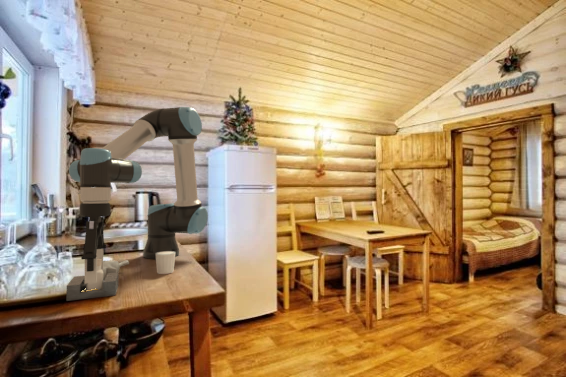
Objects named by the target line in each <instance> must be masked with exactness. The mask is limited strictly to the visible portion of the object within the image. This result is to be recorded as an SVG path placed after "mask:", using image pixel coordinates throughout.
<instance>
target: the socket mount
mask: <svg viewBox="0 0 566 377" xmlns="http://www.w3.org/2000/svg"><path fill="white" fill-rule="evenodd" d="M84 283H85V275H78V276H76V275H75V276H73V277H72V279H71V280H70V281H69V282H68V283H67V285H66V299H65V300H66V302H68V301H77V300H78V301H79V300H86V299H88V300H89V299H95V298H96V299H97V298H103V297H112V296H116V295H117V291H118V288H119V272H118V273H108V274H107V276H106V278H105V280H104V281H103V289H101V290H92V291H87V292H81V291H82V290H84V289H85V288H86V284H84Z"/></svg>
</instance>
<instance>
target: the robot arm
mask: <svg viewBox="0 0 566 377" xmlns="http://www.w3.org/2000/svg"><path fill="white" fill-rule="evenodd" d="M202 127H203V124H202V120H201V117H200V114H199V113H198V112H197V110H196V109H194V107H193V108H192V107H191V106H190V107H189V106H179V107H178V106H176V107H169V108H168V107H167V108H157V109H154V110H152V111H150V112H148V113H146V114H145V115H143V116H141V117H140V118H138V119H137V120H136V121H134V122H133V126H132V127H131V128H129V129H128V130H126V131H124V132H123V133H122V134H120V135H119V136H118V137H116V138H115V139H112V140H111V141H110V142H109V143H108V144H106V145H104V146H103V147H101V148H96V147H89V148H88V147H87V148H83V149H81V152H80V157H79V158H80V159H77V160H74V161H73V162H71V163H70V165H69V167H68V174H69V176H70V178H71V179H72V180H73V181H75V182H77V183H79V184H80V185H79V188H80V190H78V191H77V194H78V195H79V197H80V198H79V199H80V200H79V201H80V202H82V203H80V204H79V216H80V217H84V218H85V217H86V218H88V220H87V221H86V222H85V234H84V235H85V236H84V237H85V238H84V247H83V255H81V258H80V260H84V276H85V283H84V284H87V283H96V282H97V258H98V259H101V269H102V270H103V261H104V249H106V248H107V245H106V244H105V238H104V237H105V236H104V226H105V223H104V217H107V216H108V217H109V216H110V215H111V204H110V203H109V202H110V201H111V200H112V199H111V196H112V193H111V192H112V188H111V183H112V184H115V183H116V184H119V183H122V184H135V183H137V182H138V181H139V180H140V179H141V177H142V175H143V169H142V166H141V165H140V163H139V162H138V161H135V160H131V159H127V158H128V157H129V156H130V155H132V154H133V153H134V152H136V151H137V150H138V149H140V148H141V147H142V146H143V145H144V144H146V143H147V142H152V141H153V140H154V139H157V138H161V137H167V140H168V142H169V143H171V144H172V152H173V153H172V155H173V165H174V180H175V190H176V191H175V192H176V201H175V202H174V203H173V202H172V203H162V204H154V205H150V206H149V207H148V208H147V210H148V211H147V216H146V217H147V240H146V243H145V246H144V249H143V251H142V257H143V258H145V259H150V260H151V259H153V260H156V253H157V252H163V251H174V252H175V257H177V256H179V255H180V248H179V245H178V242H177V239H176V234H189V235H192V234H200V233H201V232H203V231H204V229H205V228H206V226H207V224H208V218H209V214H208V210H207V208H206V207H204V206H203V204H202V201H201V200H200V199H199V197H198V186H197V171H196V156H195V142H197V140H198V136H199V135H200V134H201V133H202V129H203V128H202Z"/></svg>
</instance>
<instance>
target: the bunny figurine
mask: <svg viewBox="0 0 566 377" xmlns="http://www.w3.org/2000/svg"><path fill="white" fill-rule="evenodd" d="M127 265H130V262H129V260H127V259H126V260H122V261H120V262H119V261H118V260H114V259H110V260H103V280H105V278H106V276H107V274H108V273H118V274H119V272H120V268H121V267H123V266H127Z"/></svg>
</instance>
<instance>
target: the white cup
mask: <svg viewBox="0 0 566 377" xmlns="http://www.w3.org/2000/svg"><path fill="white" fill-rule="evenodd" d="M175 261H176V256H175V252H174V251H163V252H157V253H156V259H155V263H156V264H155V265H156V273H157V274H158V275H159V274H160V275H168V274H173V273H174V269H175Z"/></svg>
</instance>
